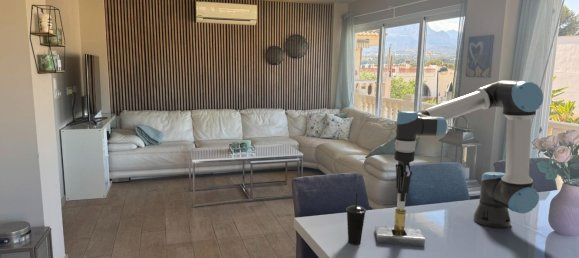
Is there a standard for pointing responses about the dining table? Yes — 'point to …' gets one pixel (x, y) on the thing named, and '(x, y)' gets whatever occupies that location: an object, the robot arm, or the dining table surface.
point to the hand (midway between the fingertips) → (400, 208)
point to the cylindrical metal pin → (399, 222)
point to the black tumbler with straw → (355, 223)
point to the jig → (399, 236)
